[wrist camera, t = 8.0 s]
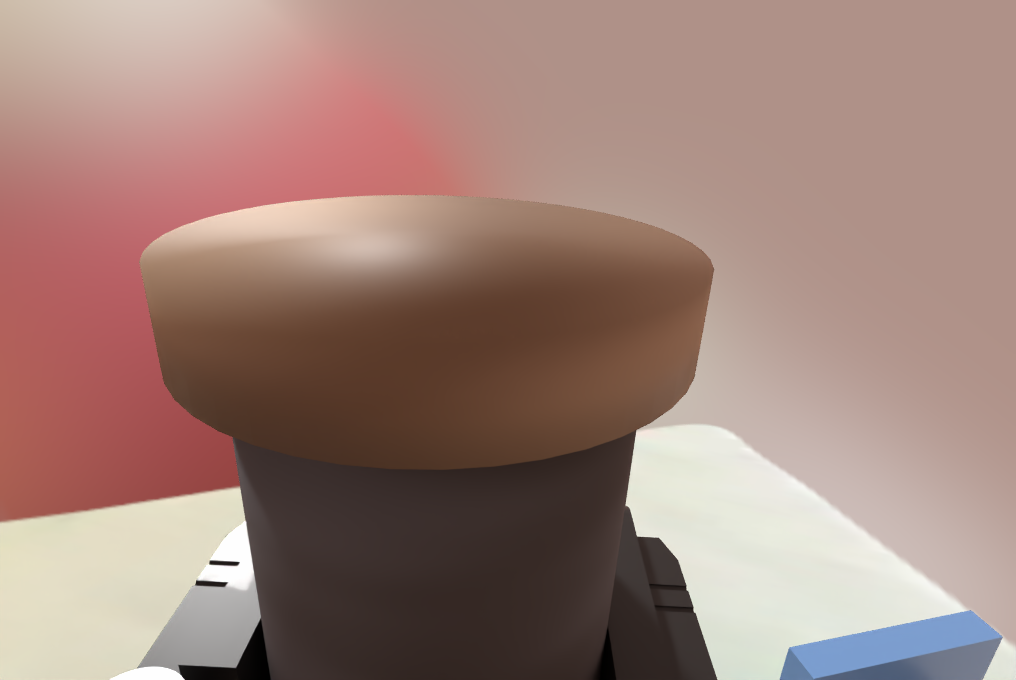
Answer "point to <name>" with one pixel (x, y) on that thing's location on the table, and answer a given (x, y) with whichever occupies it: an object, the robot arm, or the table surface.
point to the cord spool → (429, 418)
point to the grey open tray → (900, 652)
